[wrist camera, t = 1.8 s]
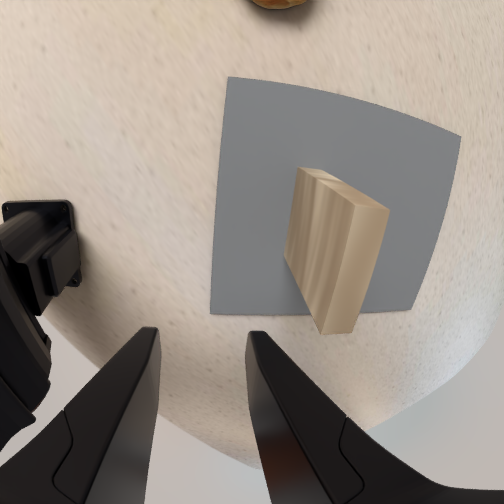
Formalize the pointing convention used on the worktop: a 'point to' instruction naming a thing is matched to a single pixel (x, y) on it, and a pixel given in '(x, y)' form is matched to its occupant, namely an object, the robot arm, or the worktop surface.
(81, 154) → the worktop surface
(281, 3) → the pastry
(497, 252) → the worktop surface
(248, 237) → the mat
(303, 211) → the tile
